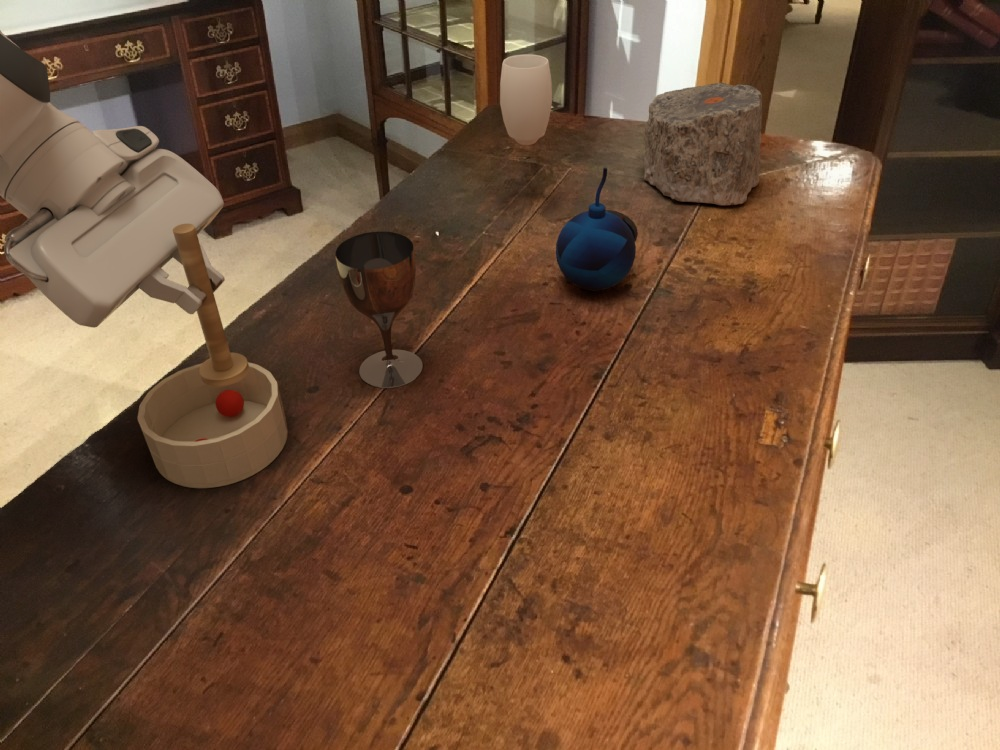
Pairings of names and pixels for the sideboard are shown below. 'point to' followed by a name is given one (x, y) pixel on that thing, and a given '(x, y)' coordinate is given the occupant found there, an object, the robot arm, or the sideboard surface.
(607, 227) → the bomb
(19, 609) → the sideboard surface
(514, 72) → the cup
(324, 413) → the sideboard surface
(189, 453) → the bowl
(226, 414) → the tomato
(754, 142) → the petrified wood
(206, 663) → the sideboard surface
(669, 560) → the sideboard surface
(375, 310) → the wine glass
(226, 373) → the stick
